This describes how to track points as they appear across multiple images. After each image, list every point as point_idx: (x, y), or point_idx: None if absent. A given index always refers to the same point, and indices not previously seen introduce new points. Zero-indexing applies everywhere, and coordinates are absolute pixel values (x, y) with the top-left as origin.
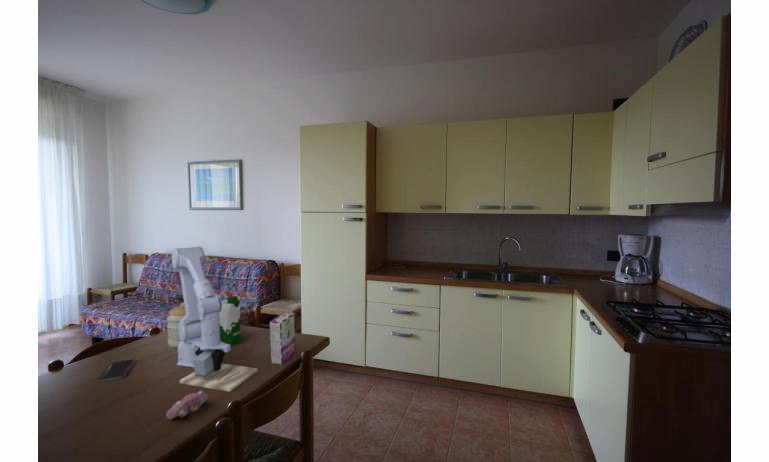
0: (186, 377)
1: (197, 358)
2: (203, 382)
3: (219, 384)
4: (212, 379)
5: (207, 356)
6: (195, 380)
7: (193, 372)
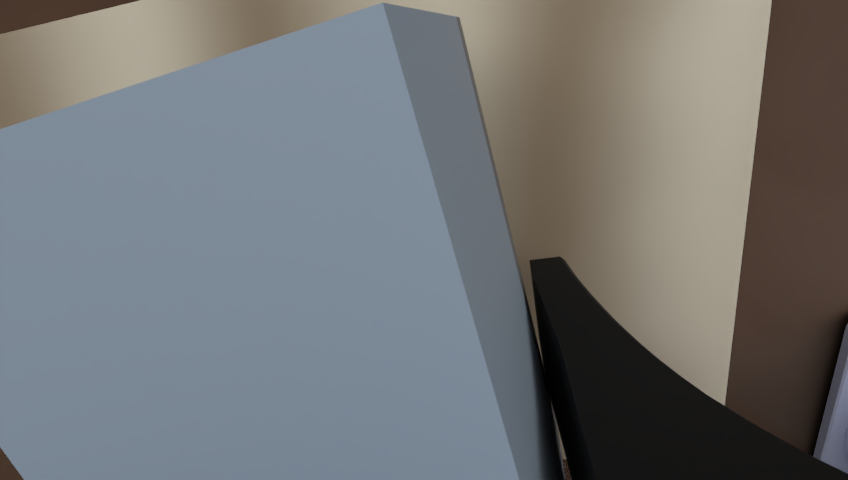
0: (731, 1)
1: (288, 232)
2: (264, 23)
3: (5, 98)
4: None
5: (69, 471)
6: (456, 3)
7: (746, 180)
